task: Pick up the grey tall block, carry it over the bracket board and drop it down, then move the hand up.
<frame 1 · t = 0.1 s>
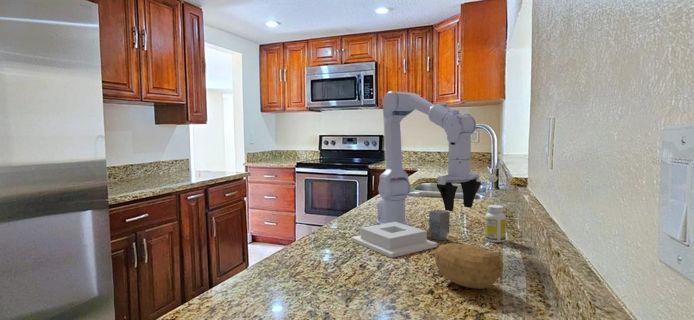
hand: (458, 208, 100), 10 cm above the countertop, fingers open, 7 cm apart
grey tall block: (439, 238, 106), on the countertop
potato: (466, 286, 74), on the countertop
bracket board: (393, 243, 102), on the countertop
supplement bottle: (495, 240, 104), on the countertop
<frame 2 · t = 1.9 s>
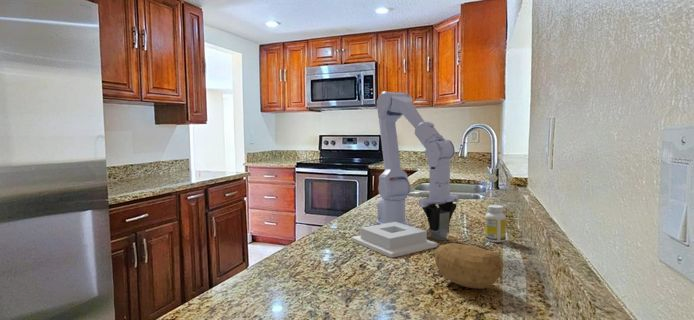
hand: (439, 228, 106), 3 cm above the countertop, fingers closed on grey tall block, 4 cm apart
grey tall block: (439, 238, 106), on the countertop, touching gripper
everything else where it was.
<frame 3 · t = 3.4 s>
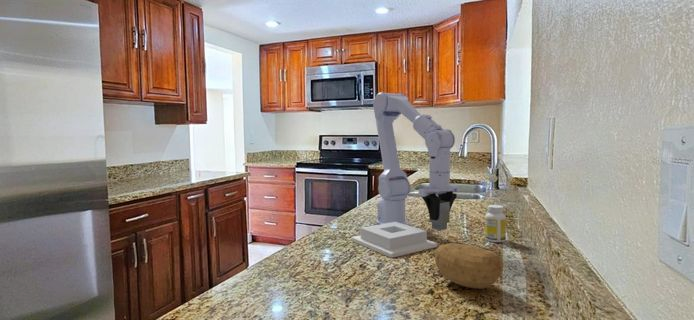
hand: (439, 218, 106), 6 cm above the countertop, fingers closed on grey tall block, 4 cm apart
grey tall block: (439, 228, 106), point 3 cm above the countertop, touching gripper
everything else where it was.
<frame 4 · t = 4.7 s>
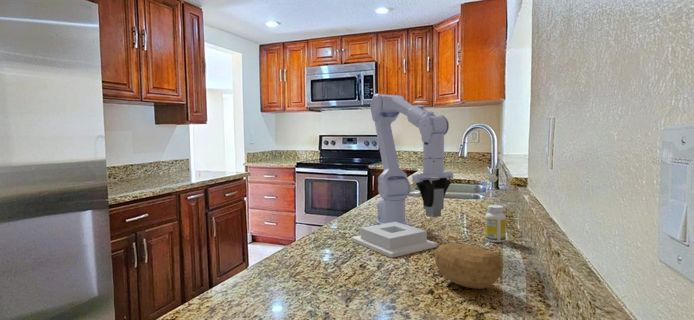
hand: (433, 205, 105), 10 cm above the countertop, fingers closed on grey tall block, 4 cm apart
grey tall block: (433, 215, 105), point 7 cm above the countertop, touching gripper
everything else where it was.
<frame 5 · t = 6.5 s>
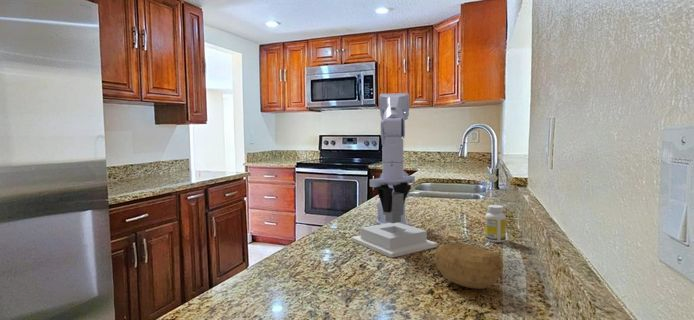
hand: (392, 210, 102), 9 cm above the countertop, fingers closed on grey tall block, 4 cm apart
grey tall block: (393, 221, 102), point 6 cm above the countertop, touching gripper
everything else where it was.
when the fingers open (5 cm above the countertop, at t = 7.7 s): grey tall block drops 1 cm, resting on bracket board.
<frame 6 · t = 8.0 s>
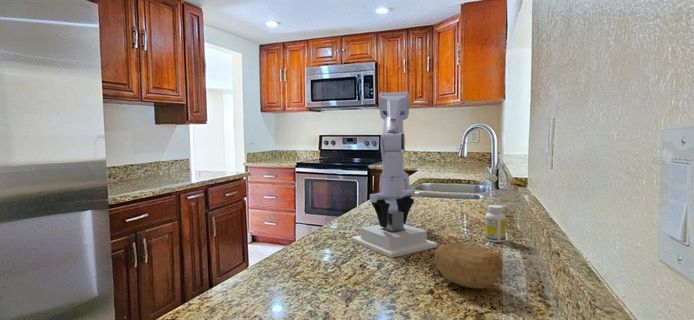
hand: (392, 225, 102), 5 cm above the countertop, fingers open, 6 cm apart
grey tall block: (393, 240, 102), point 1 cm above the countertop, touching bracket board
everything else where it was.
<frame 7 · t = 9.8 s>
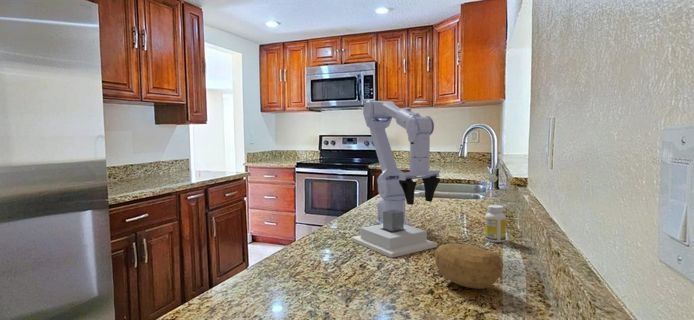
hand: (419, 202, 110), 10 cm above the countertop, fingers open, 7 cm apart
nothing on the countertop moved.
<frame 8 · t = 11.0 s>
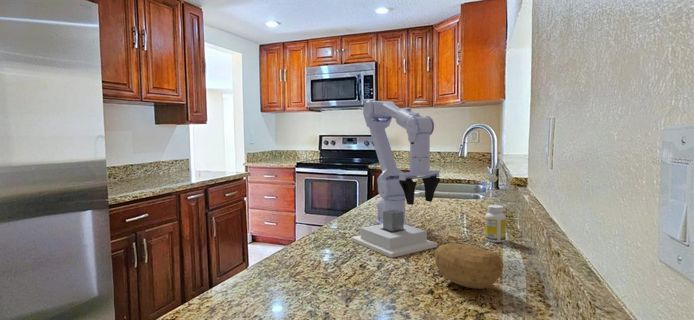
hand: (419, 202, 110), 10 cm above the countertop, fingers open, 7 cm apart
nothing on the countertop moved.
at the end: grey tall block 0.1 cm off-centre on the bracket board, point 1.0 cm above the bracket board's base; grey tall block tilted 0°; the gripper is holding nothing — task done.
